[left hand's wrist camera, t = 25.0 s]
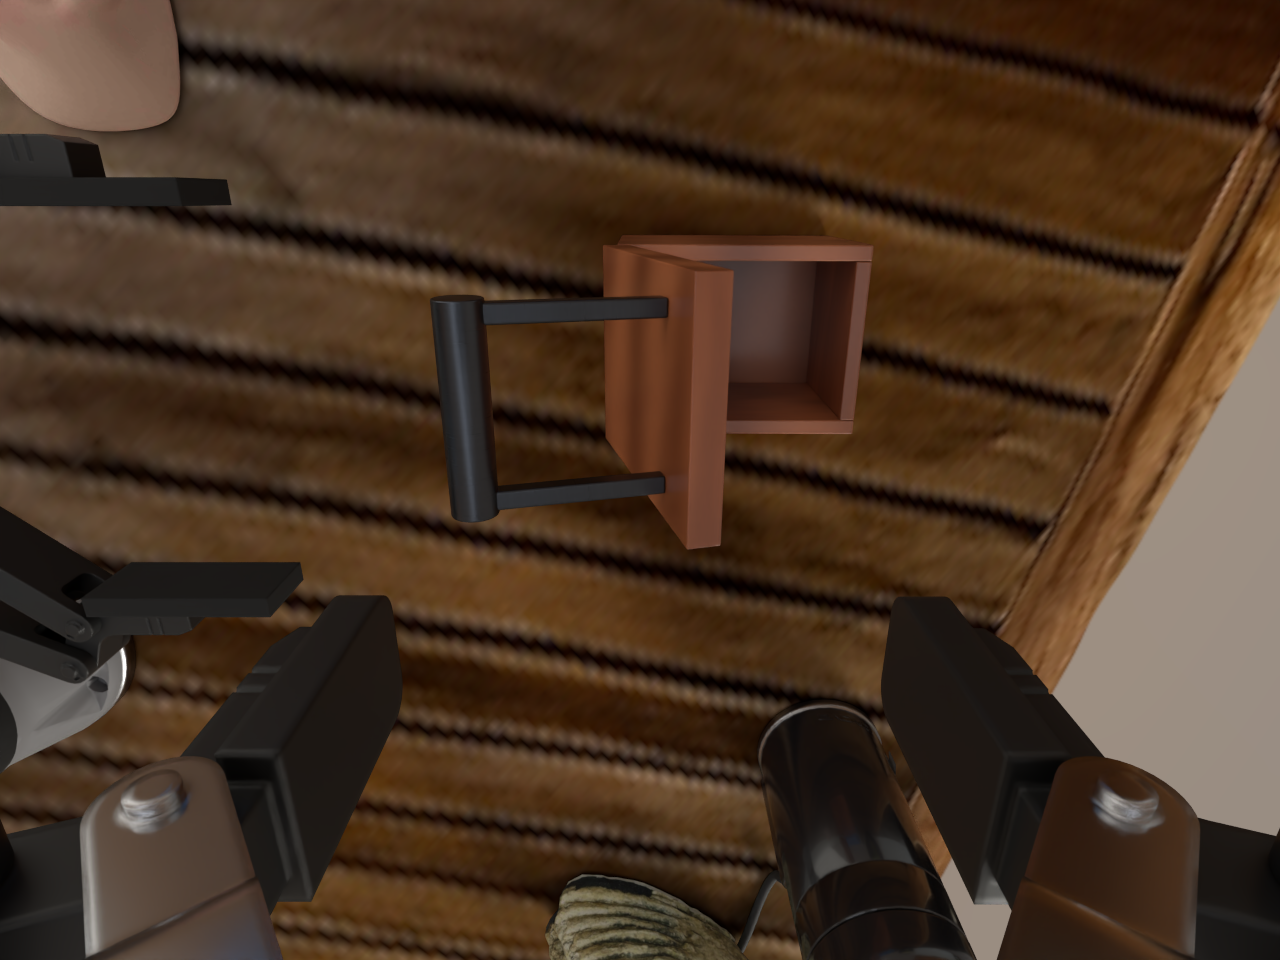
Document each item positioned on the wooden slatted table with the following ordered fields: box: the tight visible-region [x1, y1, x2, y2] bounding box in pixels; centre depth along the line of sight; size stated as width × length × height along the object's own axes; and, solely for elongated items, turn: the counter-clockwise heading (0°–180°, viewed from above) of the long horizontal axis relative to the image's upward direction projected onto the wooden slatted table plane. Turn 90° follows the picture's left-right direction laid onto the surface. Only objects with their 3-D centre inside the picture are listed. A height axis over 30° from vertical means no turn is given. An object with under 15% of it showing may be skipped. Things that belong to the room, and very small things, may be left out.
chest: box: [617, 235, 873, 434], centre depth 40 cm, size 12×9×9 cm
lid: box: [430, 245, 734, 549], centre depth 29 cm, size 13×9×9 cm
